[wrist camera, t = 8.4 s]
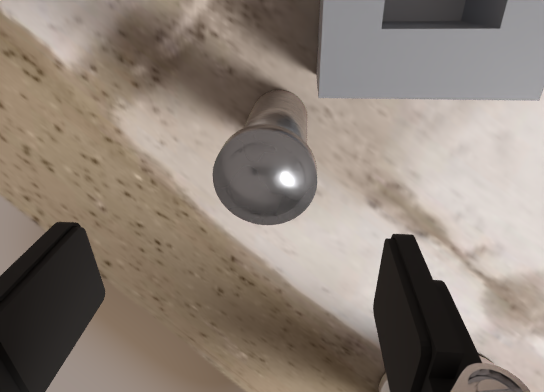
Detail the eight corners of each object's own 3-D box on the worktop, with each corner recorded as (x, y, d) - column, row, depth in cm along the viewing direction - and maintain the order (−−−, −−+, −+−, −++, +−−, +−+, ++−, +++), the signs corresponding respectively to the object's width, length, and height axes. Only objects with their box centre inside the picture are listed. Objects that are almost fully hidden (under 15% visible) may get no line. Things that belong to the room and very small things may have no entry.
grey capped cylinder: (312, 151, 27) (314, 227, 18) (246, 150, 28) (217, 223, 19) (316, 82, 25) (319, 132, 16) (243, 82, 25) (207, 129, 16)
